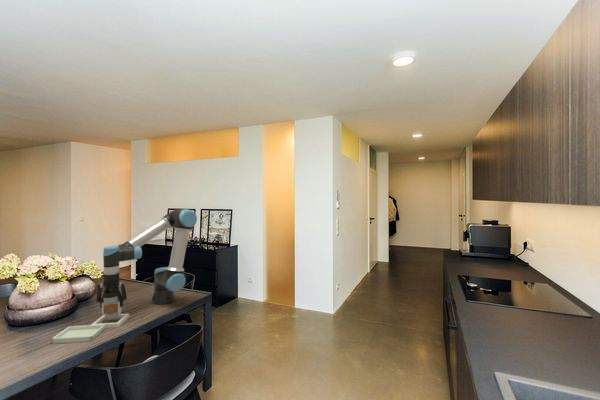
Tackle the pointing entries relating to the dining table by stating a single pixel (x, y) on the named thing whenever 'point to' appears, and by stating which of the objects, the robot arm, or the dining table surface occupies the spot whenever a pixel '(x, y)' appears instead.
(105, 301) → the coffee cup
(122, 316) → the frame
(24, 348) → the dining table surface
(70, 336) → the tray
